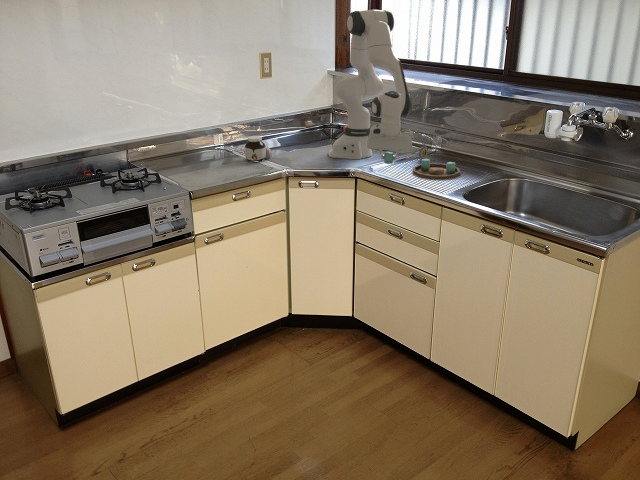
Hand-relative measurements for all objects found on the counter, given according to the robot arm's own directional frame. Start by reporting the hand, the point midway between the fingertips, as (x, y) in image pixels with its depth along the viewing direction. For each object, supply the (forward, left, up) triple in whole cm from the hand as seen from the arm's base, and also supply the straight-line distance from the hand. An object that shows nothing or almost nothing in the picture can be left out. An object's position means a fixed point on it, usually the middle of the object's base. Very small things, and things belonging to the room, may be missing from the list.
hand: (388, 159), depth 283 cm
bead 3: (+28, +2, -7) cm, 29 cm away
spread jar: (-64, +21, -8) cm, 68 cm away
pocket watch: (+19, +22, -8) cm, 30 cm away
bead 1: (0, 0, -2) cm, 2 cm away
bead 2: (+17, +7, -7) cm, 20 cm away
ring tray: (+22, +2, -7) cm, 23 cm away
